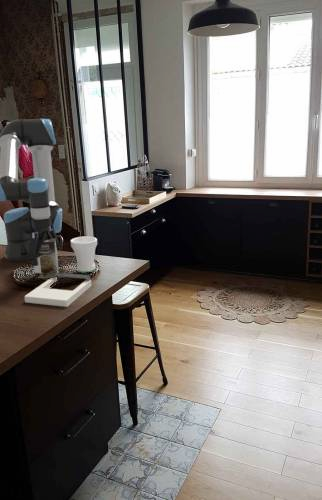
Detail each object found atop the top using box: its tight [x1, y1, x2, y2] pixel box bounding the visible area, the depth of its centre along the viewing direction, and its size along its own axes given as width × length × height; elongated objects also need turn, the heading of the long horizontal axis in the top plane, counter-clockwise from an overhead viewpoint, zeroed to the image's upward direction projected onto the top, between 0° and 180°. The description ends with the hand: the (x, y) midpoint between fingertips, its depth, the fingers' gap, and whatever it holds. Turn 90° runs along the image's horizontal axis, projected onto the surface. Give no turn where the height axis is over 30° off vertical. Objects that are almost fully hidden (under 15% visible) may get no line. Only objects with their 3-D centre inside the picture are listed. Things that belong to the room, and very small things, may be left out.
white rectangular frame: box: [24, 277, 92, 308], centre depth 161 cm, size 20×17×2 cm
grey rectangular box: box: [34, 238, 60, 279], centre depth 177 cm, size 9×6×16 cm
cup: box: [70, 235, 98, 274], centre depth 182 cm, size 11×11×14 cm
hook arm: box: [52, 272, 91, 281], centre depth 169 cm, size 1×16×4 cm, turn 74°
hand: (46, 267), depth 178 cm, fingers open, 13 cm apart
